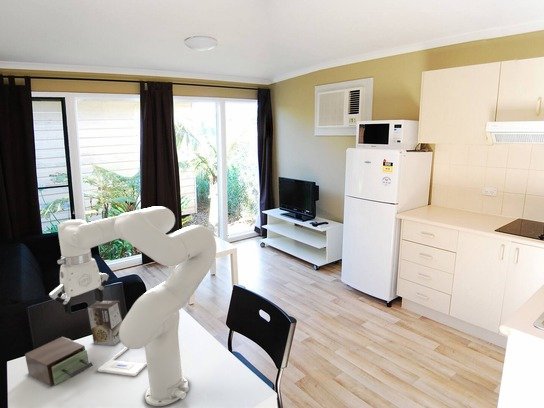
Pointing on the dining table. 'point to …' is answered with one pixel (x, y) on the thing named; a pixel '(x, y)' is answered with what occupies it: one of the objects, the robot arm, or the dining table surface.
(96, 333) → the coffee box
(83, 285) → the robot arm
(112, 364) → the photo frame
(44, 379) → the cabinet
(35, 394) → the dining table surface
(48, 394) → the dining table surface
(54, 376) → the drawer
